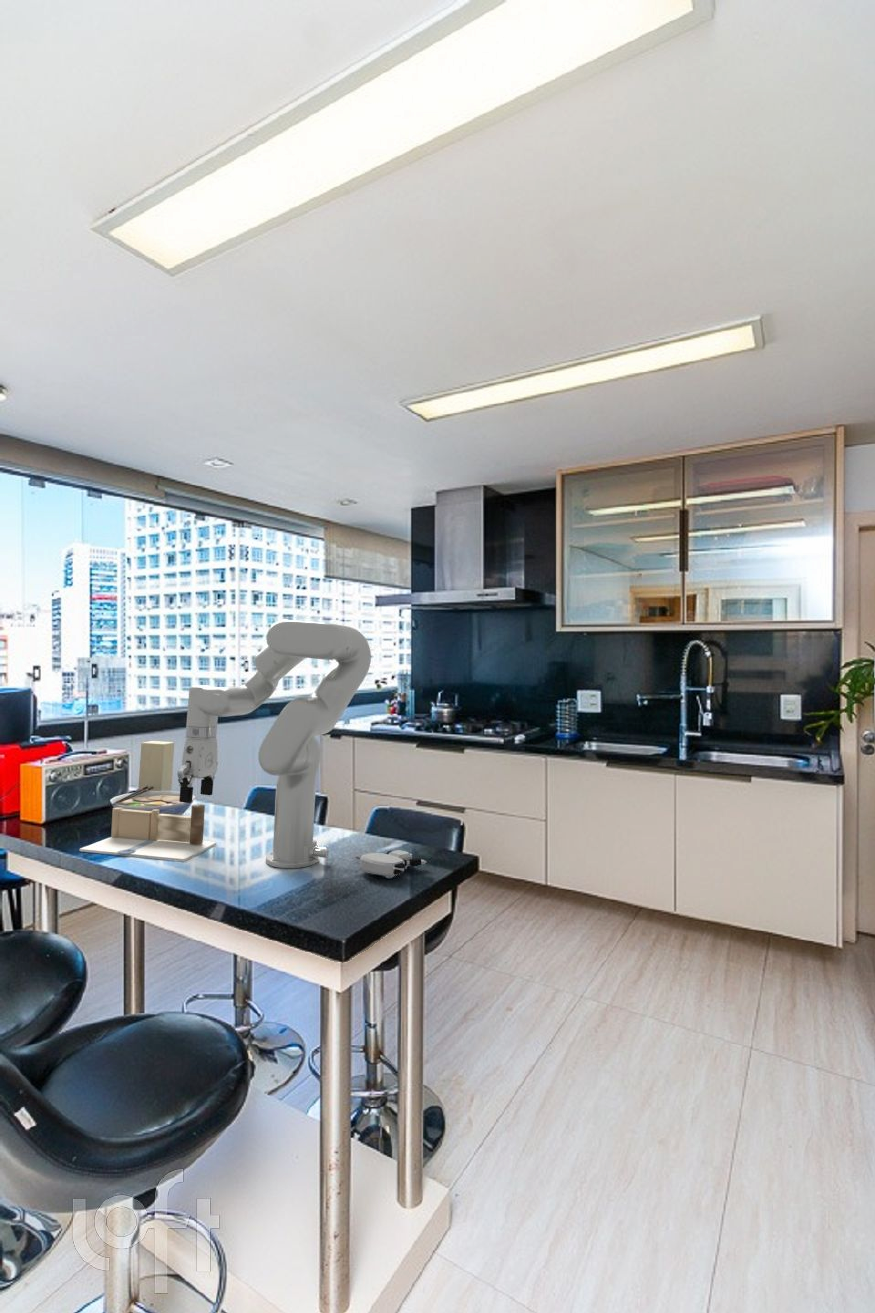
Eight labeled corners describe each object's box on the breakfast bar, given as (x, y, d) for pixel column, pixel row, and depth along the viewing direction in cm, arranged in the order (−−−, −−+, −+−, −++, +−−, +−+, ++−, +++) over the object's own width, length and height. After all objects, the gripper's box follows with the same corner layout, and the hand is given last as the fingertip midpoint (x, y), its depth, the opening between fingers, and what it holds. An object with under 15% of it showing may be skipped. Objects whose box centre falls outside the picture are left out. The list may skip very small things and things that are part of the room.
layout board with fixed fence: (216, 844, 161) (218, 812, 161) (181, 863, 145) (183, 827, 145) (119, 835, 165) (121, 804, 166) (75, 852, 150) (77, 817, 150)
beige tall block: (172, 805, 203) (175, 741, 204) (160, 809, 196) (163, 744, 196) (149, 803, 204) (153, 740, 204) (136, 808, 197) (140, 742, 197)
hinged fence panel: (205, 841, 160) (207, 804, 160) (198, 844, 157) (200, 807, 157) (161, 837, 162) (163, 801, 162) (154, 840, 159) (156, 803, 159)
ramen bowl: (173, 836, 167) (175, 806, 167) (89, 833, 166) (91, 803, 167) (207, 814, 192) (208, 788, 192) (133, 812, 191) (135, 785, 192)
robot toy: (389, 863, 155) (349, 873, 142) (390, 845, 155) (351, 853, 143) (428, 874, 148) (390, 885, 135) (430, 855, 148) (392, 865, 136)
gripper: (196, 737, 150) (190, 807, 150) (231, 730, 167) (226, 793, 167) (168, 734, 151) (163, 804, 151) (205, 728, 168) (200, 790, 168)
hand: (196, 798), depth 159 cm, fingers open, 9 cm apart
